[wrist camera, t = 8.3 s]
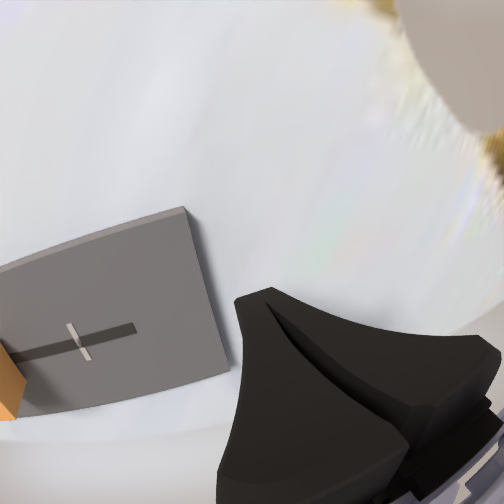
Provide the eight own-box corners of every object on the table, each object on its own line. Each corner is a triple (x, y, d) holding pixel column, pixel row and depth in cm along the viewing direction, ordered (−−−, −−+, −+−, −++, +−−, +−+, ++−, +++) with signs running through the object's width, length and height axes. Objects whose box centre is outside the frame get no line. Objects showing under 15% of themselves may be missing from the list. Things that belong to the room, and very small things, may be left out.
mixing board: (225, 358, 22) (231, 371, 21) (-10, 409, 17) (-13, 420, 16) (182, 205, 17) (185, 212, 16) (-80, 301, 12) (-89, 311, 11)
